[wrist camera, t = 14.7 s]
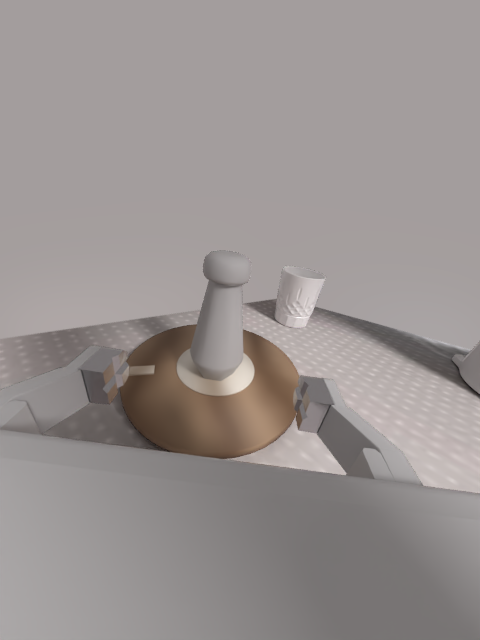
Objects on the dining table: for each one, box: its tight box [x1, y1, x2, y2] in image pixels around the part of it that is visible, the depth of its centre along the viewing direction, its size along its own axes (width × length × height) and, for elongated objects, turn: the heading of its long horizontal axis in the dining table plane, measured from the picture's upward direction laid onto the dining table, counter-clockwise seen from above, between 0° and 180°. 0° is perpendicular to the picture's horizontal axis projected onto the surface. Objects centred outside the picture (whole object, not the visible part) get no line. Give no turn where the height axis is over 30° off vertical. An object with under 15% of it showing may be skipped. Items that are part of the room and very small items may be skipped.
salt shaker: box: [190, 251, 251, 381], centre depth 22 cm, size 6×6×13 cm
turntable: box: [120, 324, 299, 459], centre depth 26 cm, size 20×20×1 cm
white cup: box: [274, 266, 326, 328], centre depth 42 cm, size 8×8×10 cm
